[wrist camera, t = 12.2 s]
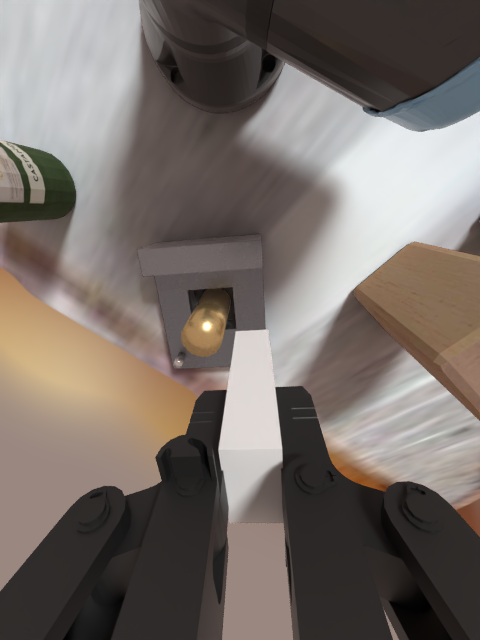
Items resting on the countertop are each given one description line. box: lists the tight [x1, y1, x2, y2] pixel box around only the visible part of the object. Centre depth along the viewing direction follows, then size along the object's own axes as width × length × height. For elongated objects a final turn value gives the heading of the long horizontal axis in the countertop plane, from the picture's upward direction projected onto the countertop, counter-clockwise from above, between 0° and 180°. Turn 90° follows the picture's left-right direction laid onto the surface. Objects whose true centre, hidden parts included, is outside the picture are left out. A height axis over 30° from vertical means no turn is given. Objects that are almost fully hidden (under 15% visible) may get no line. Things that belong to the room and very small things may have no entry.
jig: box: [137, 234, 266, 369], centre depth 37 cm, size 18×14×7 cm
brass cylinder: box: [181, 288, 231, 357], centre depth 34 cm, size 4×4×12 cm
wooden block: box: [354, 242, 480, 420], centre depth 29 cm, size 10×10×20 cm
